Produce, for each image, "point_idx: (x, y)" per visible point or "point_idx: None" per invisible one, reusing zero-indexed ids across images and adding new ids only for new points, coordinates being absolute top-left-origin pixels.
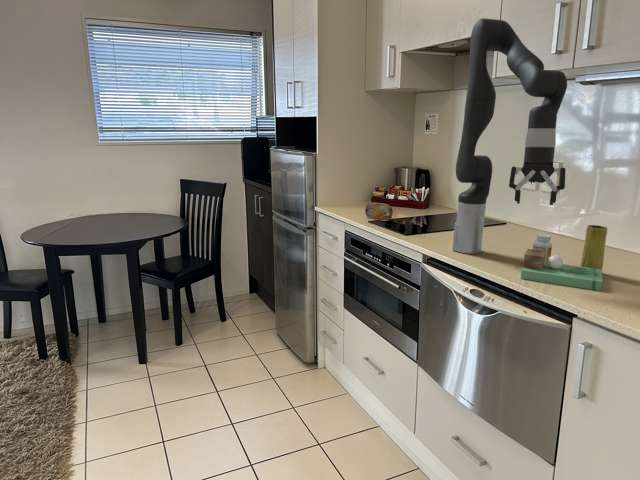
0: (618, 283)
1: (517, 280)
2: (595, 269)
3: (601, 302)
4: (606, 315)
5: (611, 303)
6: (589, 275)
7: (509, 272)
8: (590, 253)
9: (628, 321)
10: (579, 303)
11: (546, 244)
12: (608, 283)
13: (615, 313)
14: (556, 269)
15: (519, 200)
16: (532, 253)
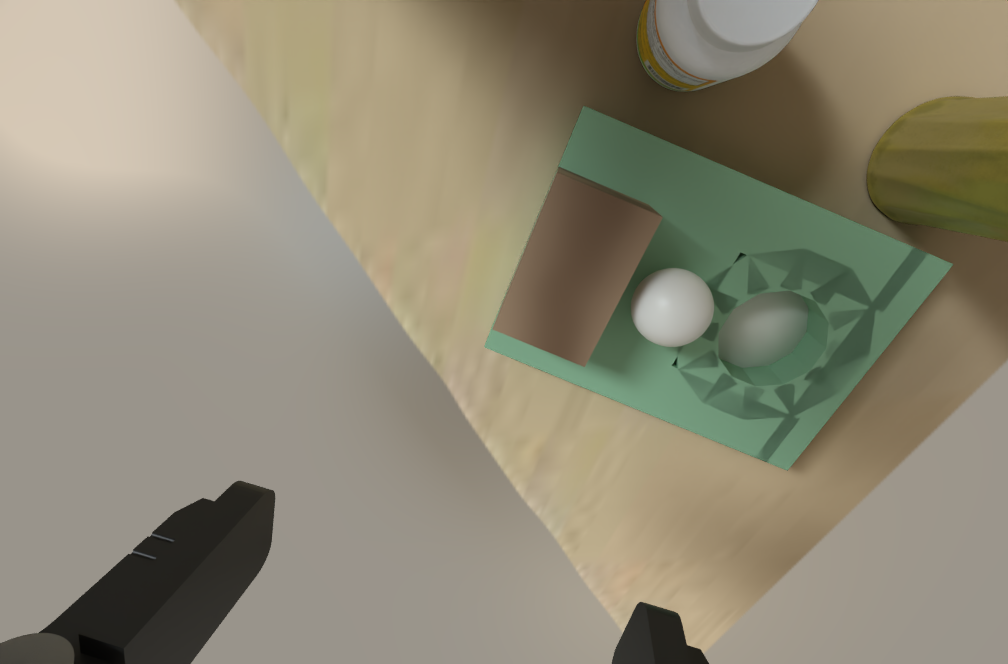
0: (946, 337)
1: (470, 358)
2: (911, 271)
3: (691, 550)
4: None
5: (721, 556)
6: (790, 387)
7: (461, 239)
8: (979, 225)
9: None
10: (609, 561)
11: (737, 66)
12: (889, 344)
13: None
14: None
15: (239, 590)
16: (547, 298)
